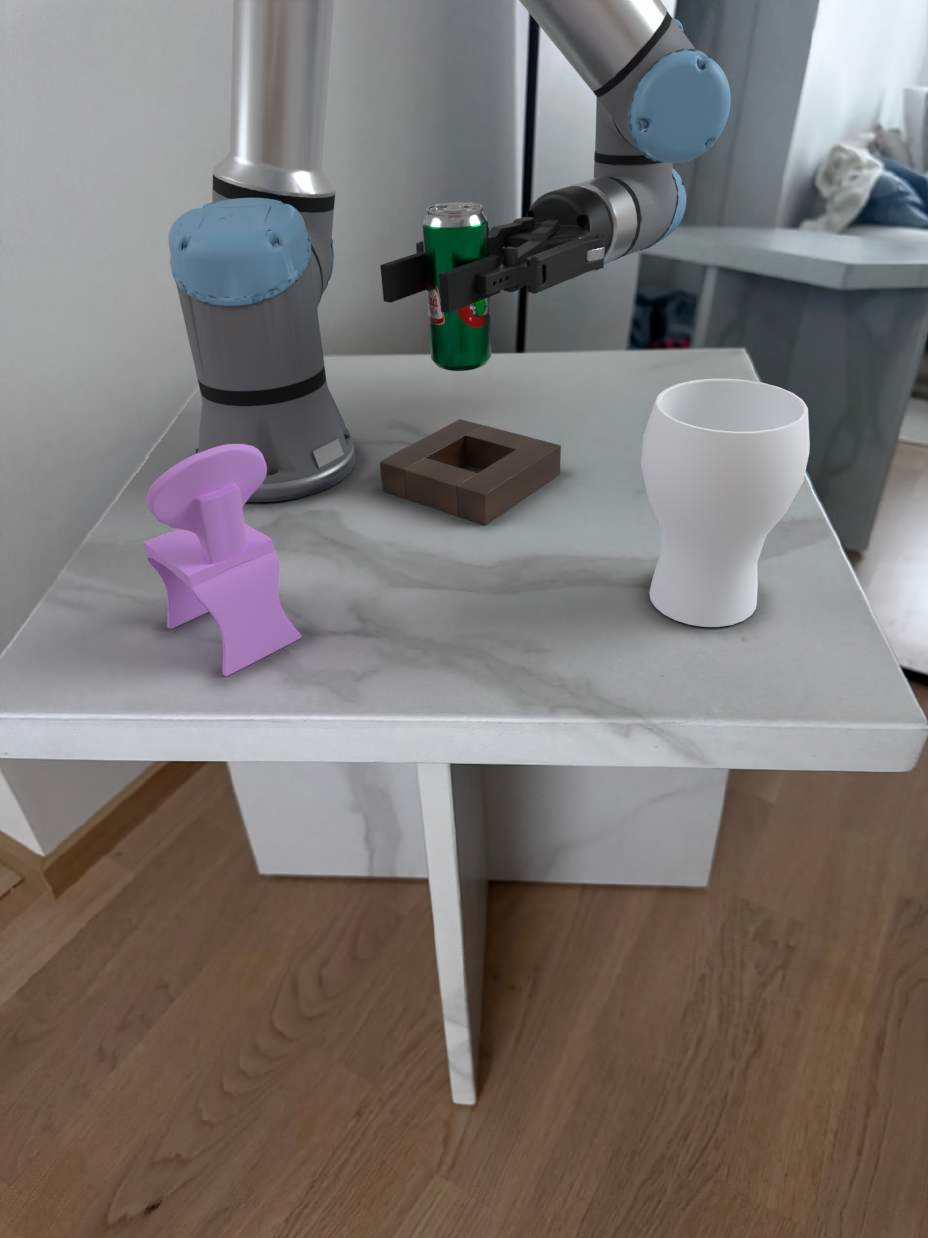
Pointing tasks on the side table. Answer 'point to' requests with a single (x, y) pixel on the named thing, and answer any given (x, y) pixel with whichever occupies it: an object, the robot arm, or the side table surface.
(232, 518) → the toy chair
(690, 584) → the cup
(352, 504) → the side table surface
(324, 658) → the side table surface
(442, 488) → the square frame
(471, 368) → the soda can
